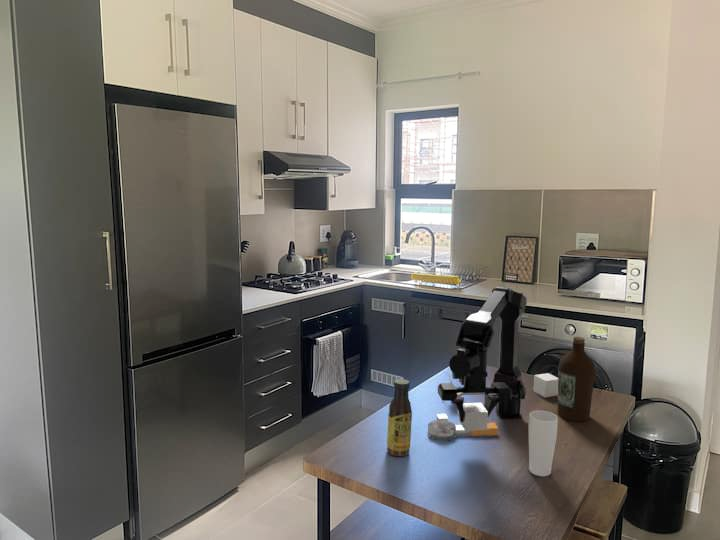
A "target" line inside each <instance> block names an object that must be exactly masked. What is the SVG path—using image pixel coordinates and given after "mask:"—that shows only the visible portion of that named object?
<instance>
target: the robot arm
mask: <svg viewBox="0 0 720 540" xmlns="http://www.w3.org/2000/svg"><path fill="white" fill-rule="evenodd" d="M526 307H527V297H526V296H525V295H524V293H523V292H516V291H514V290H513V289H512V288H510V287H502V286H496V287H495V286H494V287H493V288H492V291H491V294H490V296H489V297H488V298H487V299H486V300H485V302H484V304H483V305H482V307H481V308H480V309H479V311H478V312H476V313H472V314H470V315H469V316H468V317H467V318H466V319H464V321H462V324H461V327H460V330H459V333H458V335H457V339H456V342H455V347H456V346H457V347H460V348H458V349H457V351H456V354H454V355H453V356H452V357H451V358H450V359H449V362H448V365H449V369H450V371H451V373H452V375H451V376H452V380H458V382H459V383H460V385H461V386H460V387H459V386H458V387H457V386H455V385H454V383H453V382H452V383H450V382H447V383H446V382H444V383H443V382H442V383H439V384H438V385H437V394H438V396H439V397H440V399H441V401H443V402H447V401H448V402H449V401H450V402H451V403H452V404H454V405H455V407H456V411H457V414H458V419H459V418H460V421H461V422H463V403H464V401H463V400H464V399H463V398H461V397H462V396H467V395H469V396H471V395H483V396H484V405H483V406H484V407H485V409H486V410H487V411H488V418H489V417H490V415H491V414H492V412H493V410H494V409H495V412H497V414H498V416H499V417H500V418H502V419H515V418H517V419H519V418H520V419H521V418H523V416H522V414H521V401H522V400H525V399H526V394H527V392H526V391H527V388H526V386H525V383H524V381H523V376H522V375H523V374H522V372H521V370H520V368H519V366H518V364H517V363H518V362H517V361H518V342H519V341H518V337H519V319H520V318H521V317H522V316H523V314H524V313H525V309H526ZM498 318H500V320H501V342H500V343H501V346H500V347H501V348H500V366H499V368H498V370H497V371H496V372H495V373H494V374H493V375H494V377H493V379H492V382H491V383H490V386H486V385H487V384H486V383H487V378H488V374H489V373H488V371H487V370H488V368H487V365H488V364H487V363H488V348H490V346H491V342H492V341H493V337H494V335H495V331H494V324H495V323H496V321H497V319H498ZM462 386H463V387H462ZM461 395H462V396H461ZM462 399H463V400H462ZM460 421H459V422H460Z"/></svg>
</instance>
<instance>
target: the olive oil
mask: <svg viewBox="0 0 720 540" xmlns="http://www.w3.org/2000/svg"><path fill="white" fill-rule="evenodd" d="M585 340H586V339H585V338H584V337H581V336H574V337H573V342H572V348H571V350H570V351H569V352H567V353H566V354H565V355H563V357H562V358H560V361H559V363H558V368H557V371H558V372H557V373H558V374H557V378H558V396H557V408H556V409H557V410H556V412H557V415H558V416H559V417H561V418H562V419H565V420H568V421H571V422H586V421H588V420H589V419H590V417H591V416H590V415H591V407H592V400H593V399H592V397H593V391H594V385H595V384H594V383H595V378H596V365H595V363H594V361H593V360H592V358H591V357H590V355H588V354H587V353H586V351H585V347H586V346H585Z"/></svg>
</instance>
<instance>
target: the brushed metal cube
mask: <svg viewBox="0 0 720 540" xmlns="http://www.w3.org/2000/svg"><path fill="white" fill-rule="evenodd" d="M488 419H489V417H488V411H487V410H486V409H485V407H484V405H483V403H482V402H463V422H461V421H460V418H459V417H458V421H459V423H460V425H462V427H463V428H464V430H487V423H489V422H488V421H489V420H488Z"/></svg>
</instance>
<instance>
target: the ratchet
mask: <svg viewBox="0 0 720 540" xmlns="http://www.w3.org/2000/svg"><path fill="white" fill-rule="evenodd" d="M428 434H429V435H430V436H431V438H432V437H433V438H432V439H434V438H435V439H434V440H438V439H439V441H450V440H453V439H454V438H456V437H458V436H457V435H471V436H470V437H478V436H479V437H481V436H482V435H484V436H485V435H489V436H499V427H498V426H497V425H496V423H495V422H488V423H487V430H464V428H463V427H462V425H461V424H455V423H454V422H451V421H449V417H448V416H447V414H446V413H439V414H438V413H437V414H436V419H435V420H431V421H429V422H428V424H427V435H428ZM429 435H428V436H429ZM430 436H429V437H430ZM484 436H482V437H484ZM452 438H453V439H452ZM449 439H450V440H449Z"/></svg>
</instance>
